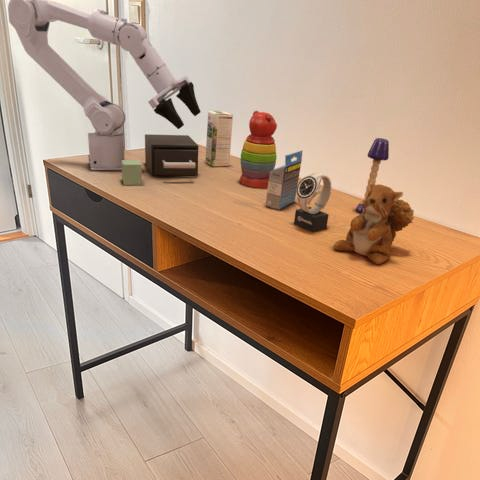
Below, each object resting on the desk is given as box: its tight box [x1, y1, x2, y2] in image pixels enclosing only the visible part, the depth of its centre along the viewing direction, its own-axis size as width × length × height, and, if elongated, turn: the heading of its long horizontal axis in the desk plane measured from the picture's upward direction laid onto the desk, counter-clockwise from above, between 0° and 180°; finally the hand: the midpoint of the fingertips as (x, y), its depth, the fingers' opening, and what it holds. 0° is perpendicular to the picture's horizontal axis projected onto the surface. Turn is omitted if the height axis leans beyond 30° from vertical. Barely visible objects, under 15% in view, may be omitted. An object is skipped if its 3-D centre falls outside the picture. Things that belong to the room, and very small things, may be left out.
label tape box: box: [265, 150, 303, 210], centre depth 114 cm, size 9×4×12 cm, turn 149°
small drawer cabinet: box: [144, 133, 199, 177], centre depth 135 cm, size 13×12×8 cm
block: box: [121, 159, 143, 186], centre depth 122 cm, size 4×4×5 cm
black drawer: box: [154, 148, 199, 175], centre depth 131 cm, size 17×11×6 cm, turn 17°
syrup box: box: [205, 110, 234, 167], centre depth 143 cm, size 6×6×14 cm
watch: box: [293, 172, 332, 233], centre depth 102 cm, size 6×8×11 cm
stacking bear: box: [239, 110, 278, 189], centre depth 127 cm, size 11×10×18 cm
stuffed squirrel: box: [332, 182, 415, 265], centre depth 92 cm, size 10×14×13 cm
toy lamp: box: [355, 137, 390, 215], centre depth 113 cm, size 5×5×17 cm
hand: (189, 120), depth 126 cm, fingers open, 7 cm apart
